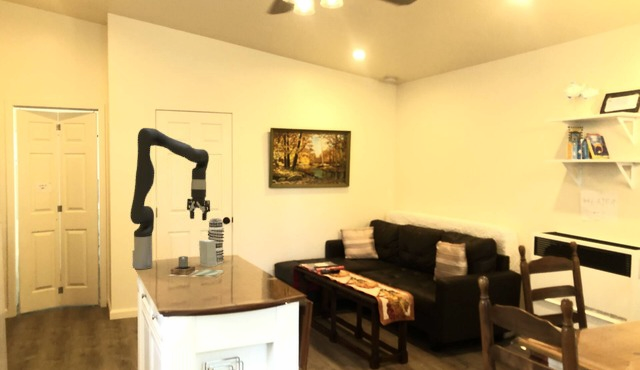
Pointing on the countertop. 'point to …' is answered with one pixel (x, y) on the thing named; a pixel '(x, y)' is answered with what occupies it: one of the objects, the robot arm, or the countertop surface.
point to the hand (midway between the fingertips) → (198, 219)
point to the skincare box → (207, 253)
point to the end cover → (183, 262)
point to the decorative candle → (217, 237)
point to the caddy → (194, 272)
